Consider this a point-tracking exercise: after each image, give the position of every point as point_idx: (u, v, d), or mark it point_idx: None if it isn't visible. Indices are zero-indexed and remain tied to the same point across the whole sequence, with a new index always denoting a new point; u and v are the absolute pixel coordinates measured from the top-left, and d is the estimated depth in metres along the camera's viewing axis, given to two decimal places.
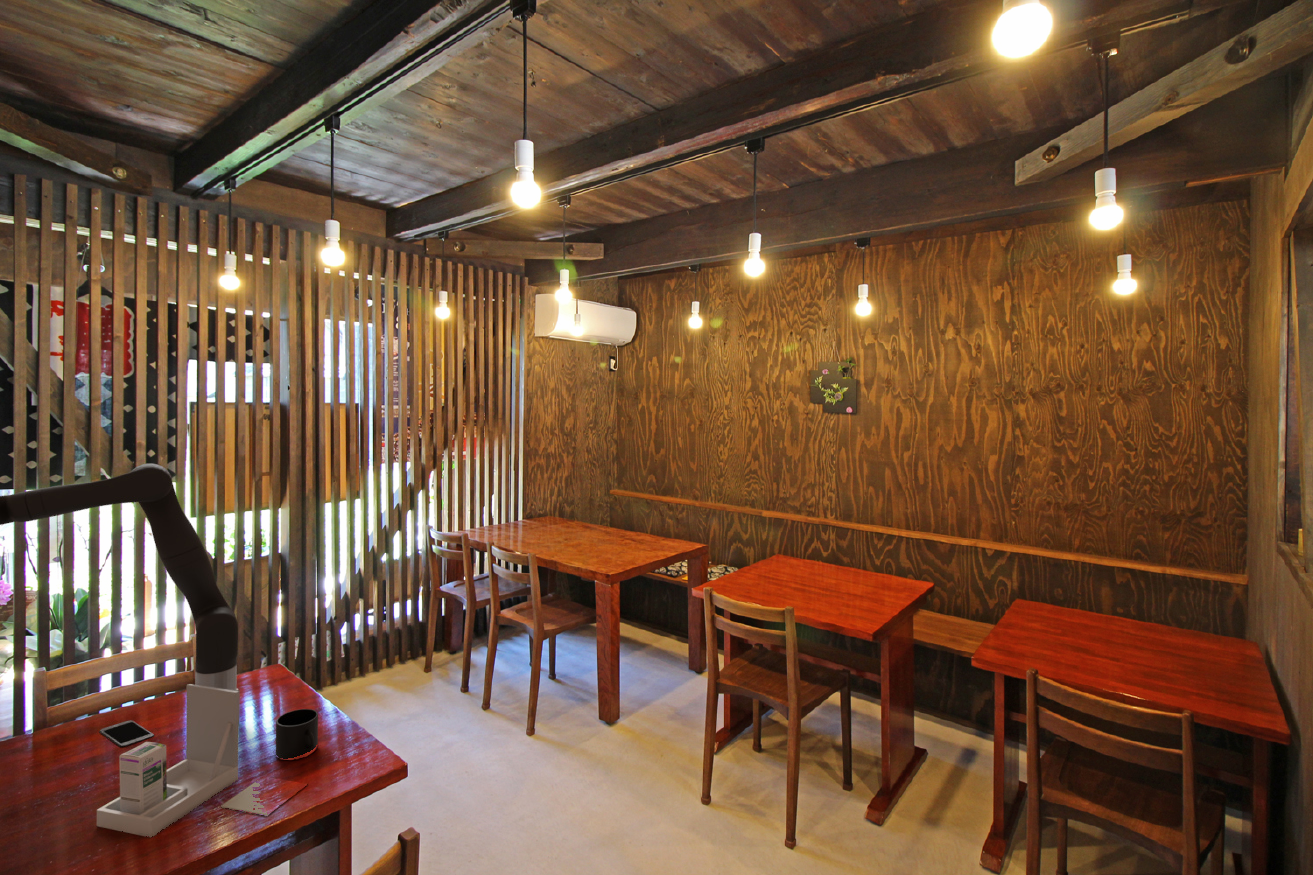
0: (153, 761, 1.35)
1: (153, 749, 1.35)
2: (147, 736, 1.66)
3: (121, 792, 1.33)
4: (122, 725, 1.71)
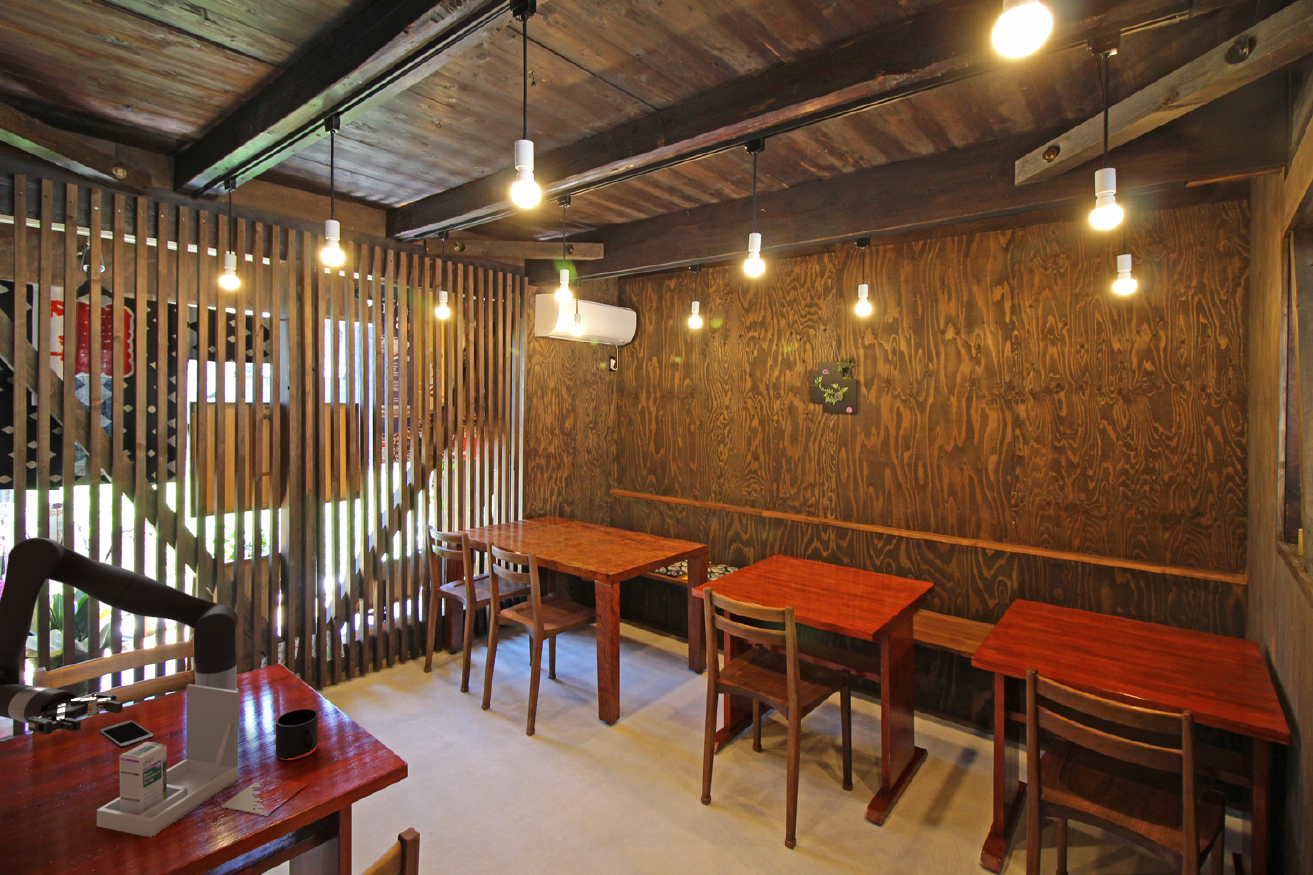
0: (153, 761, 1.35)
1: (153, 749, 1.35)
2: (147, 736, 1.66)
3: (121, 792, 1.33)
4: (122, 725, 1.71)
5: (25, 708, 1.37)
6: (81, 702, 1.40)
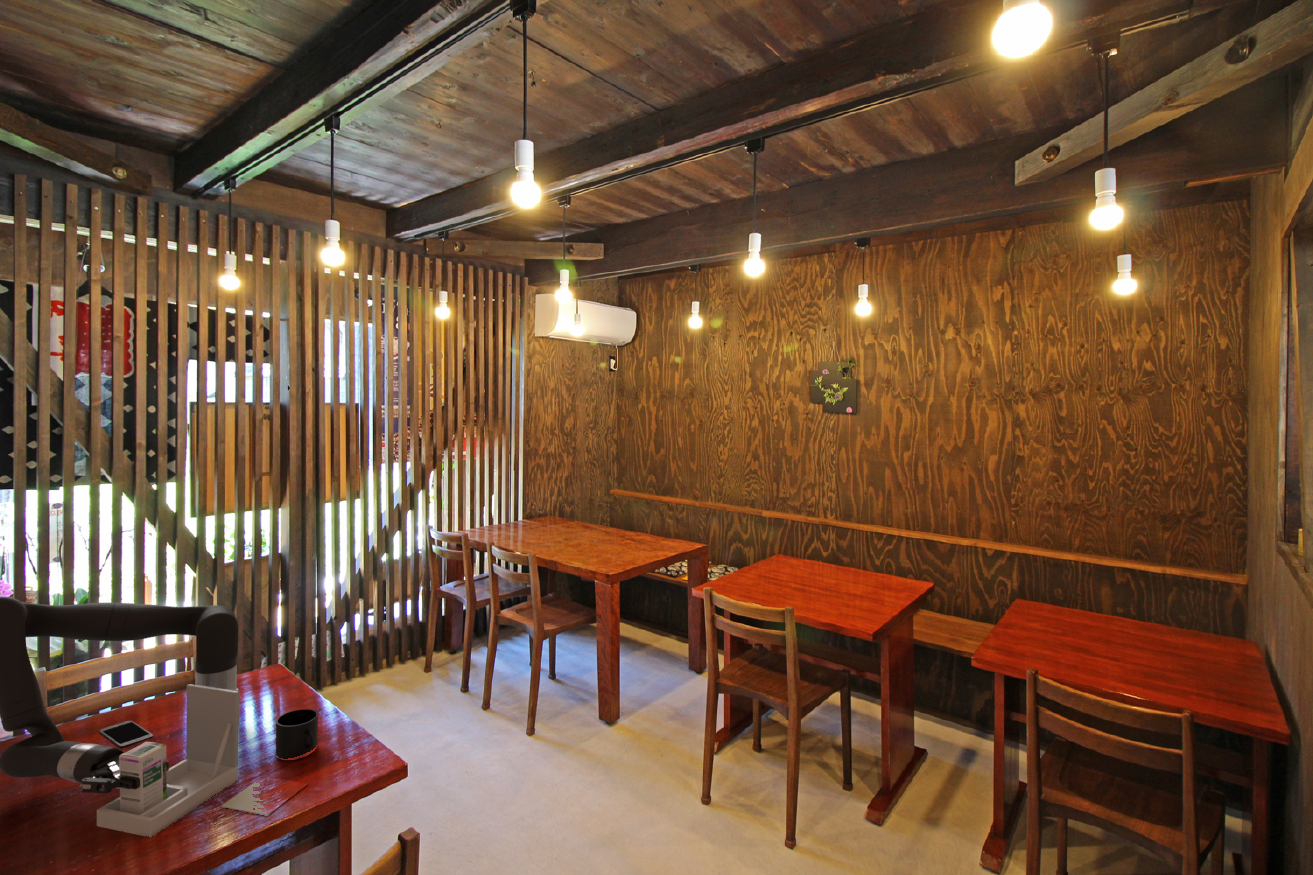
0: (153, 761, 1.35)
1: (153, 749, 1.35)
2: (146, 736, 1.66)
3: (121, 792, 1.33)
4: (121, 725, 1.71)
5: (74, 768, 1.35)
6: None
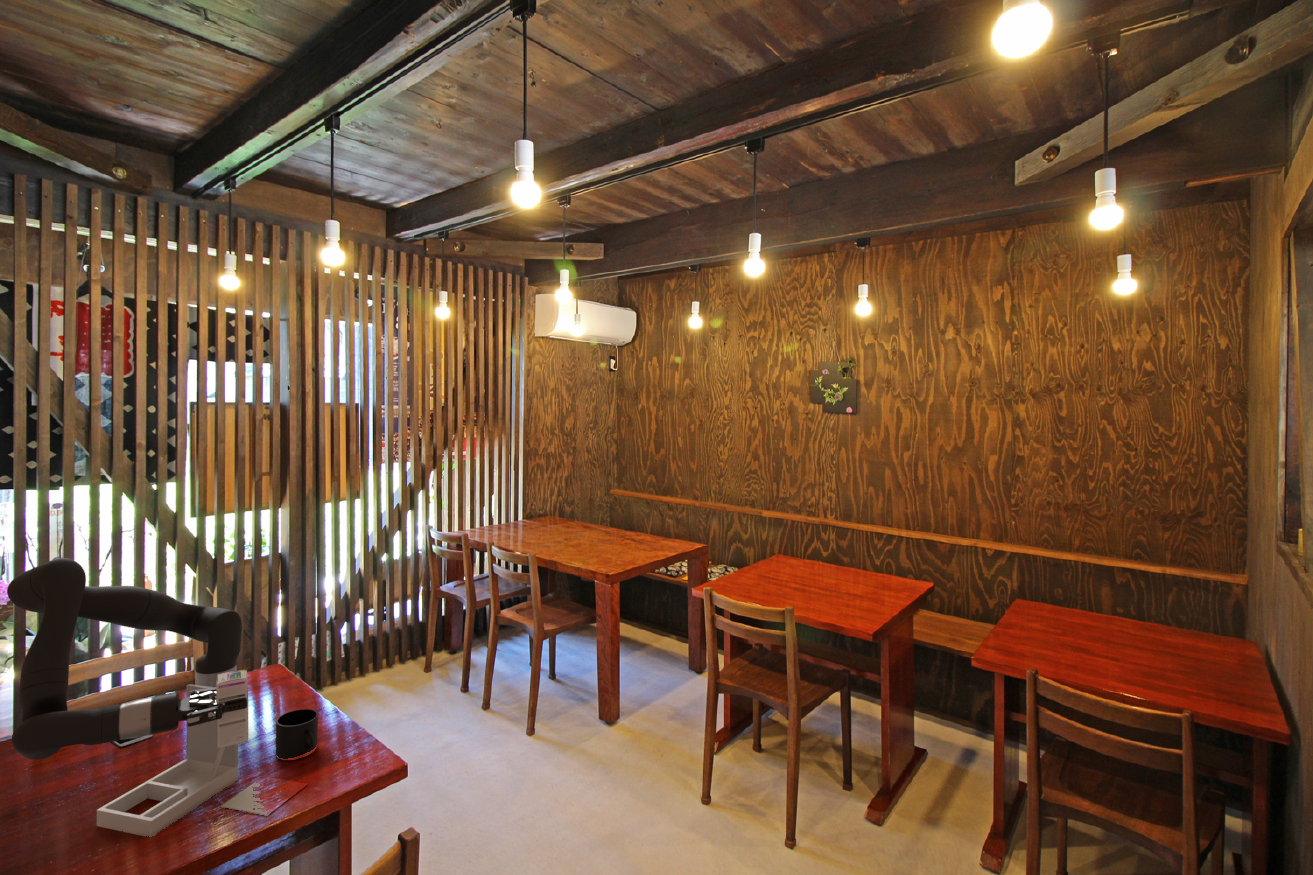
0: None
1: (242, 673, 1.40)
2: (146, 737, 1.66)
3: (219, 720, 1.35)
4: None
5: (151, 716, 1.28)
6: (201, 697, 1.36)
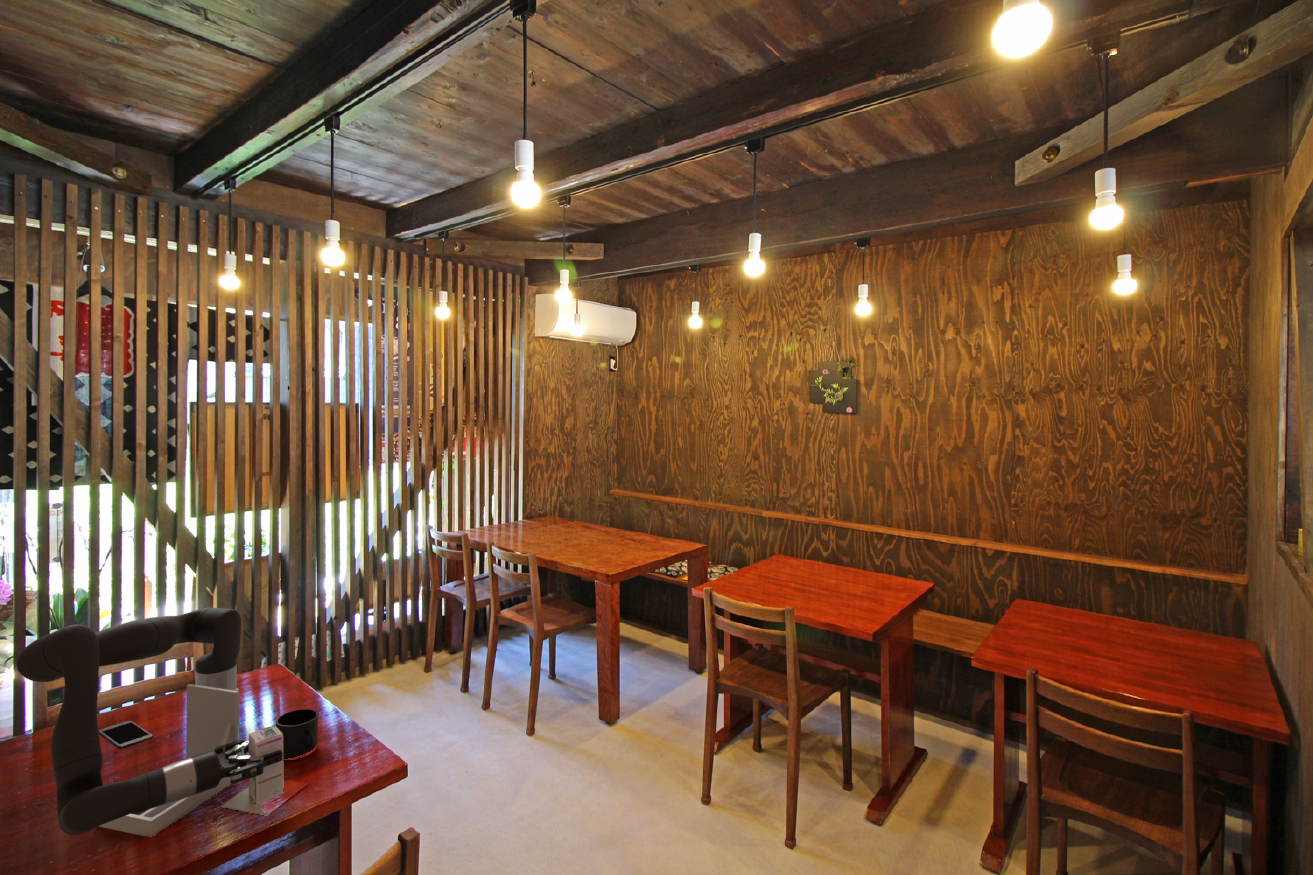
0: None
1: (274, 729, 1.44)
2: (146, 737, 1.66)
3: (258, 777, 1.39)
4: (121, 725, 1.71)
5: (197, 777, 1.30)
6: (235, 751, 1.40)
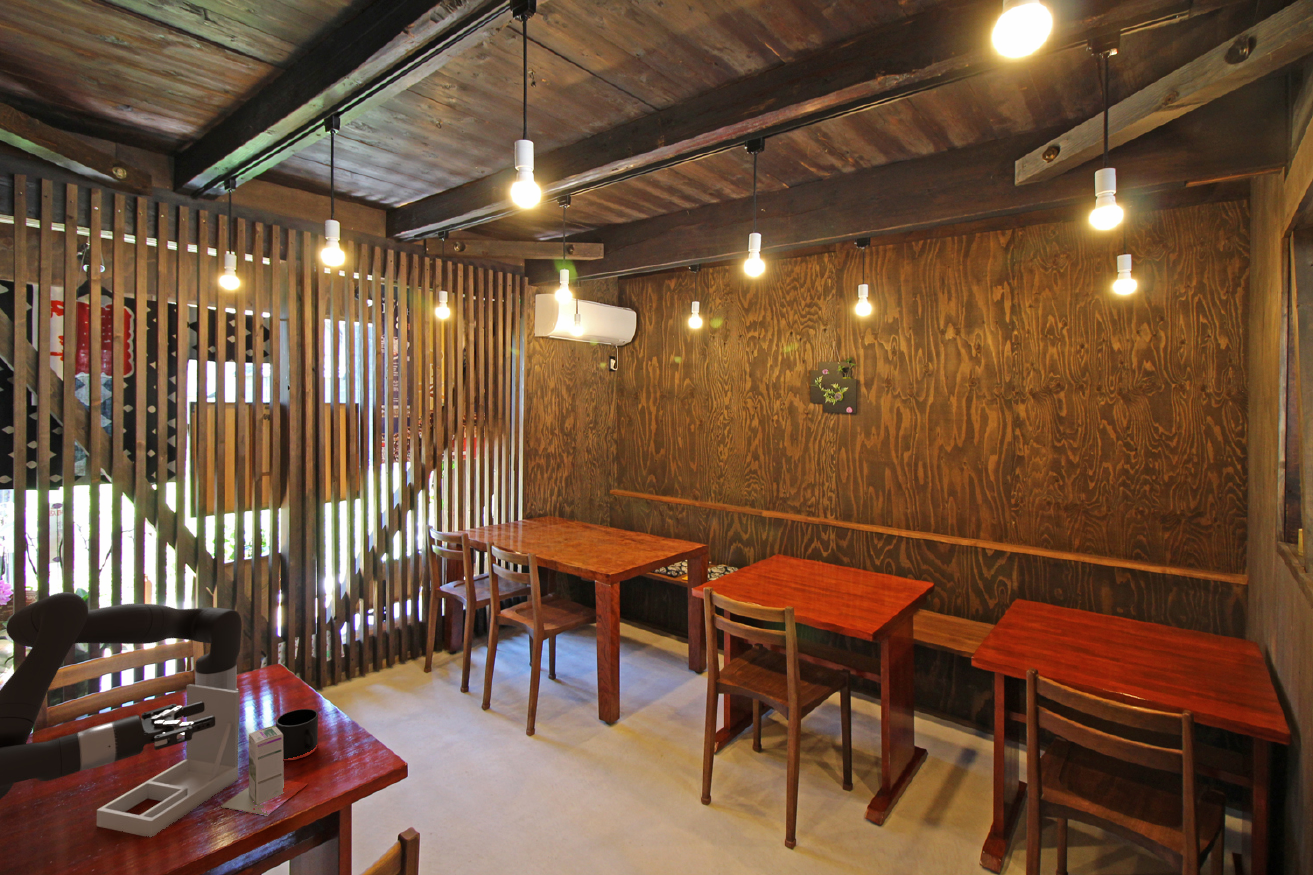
0: None
1: (274, 729, 1.44)
2: None
3: (258, 777, 1.39)
4: None
5: (117, 743, 1.20)
6: (163, 716, 1.30)
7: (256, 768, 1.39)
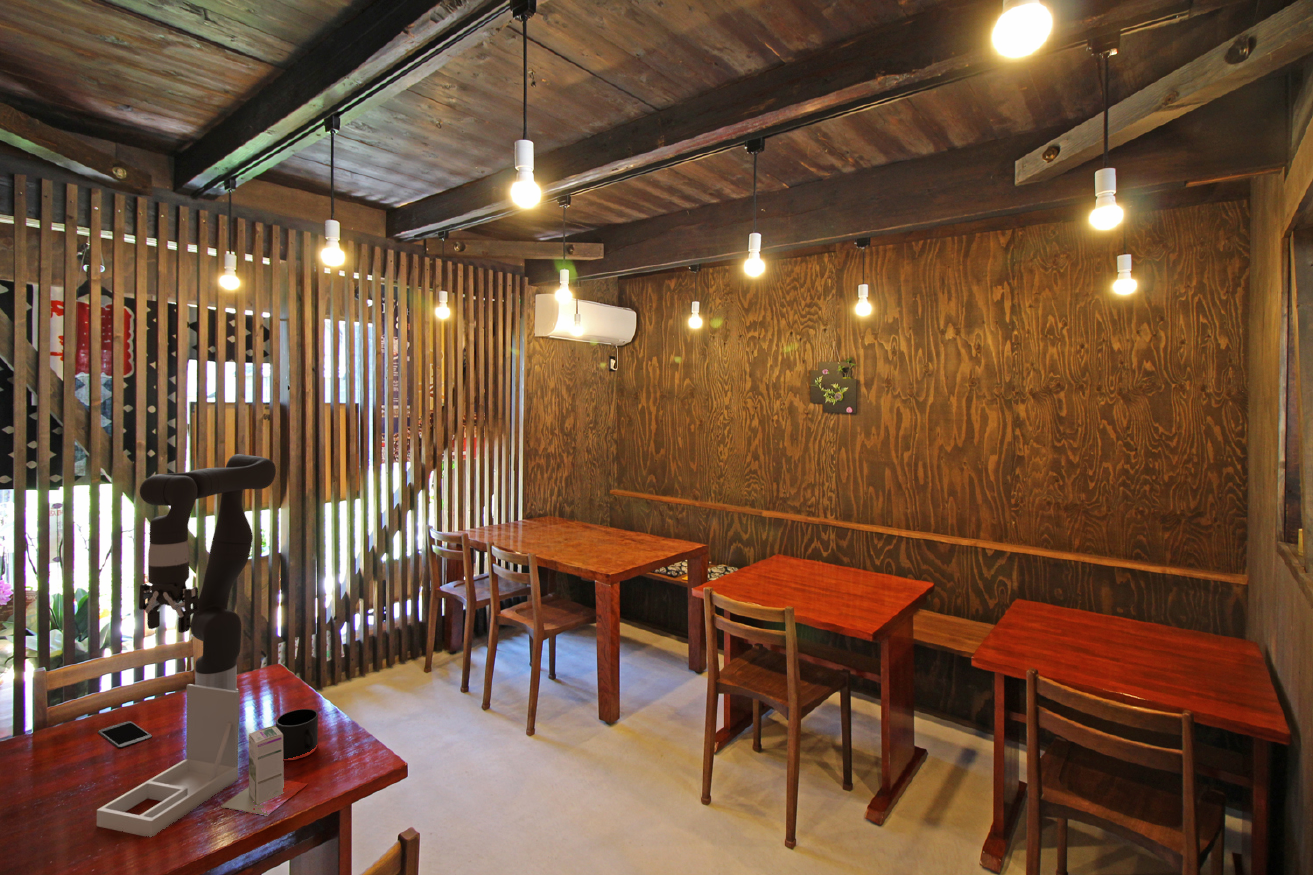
0: None
1: (274, 729, 1.44)
2: (145, 737, 1.65)
3: (258, 777, 1.39)
4: (120, 726, 1.71)
5: (186, 563, 1.46)
6: None
7: (256, 768, 1.39)
